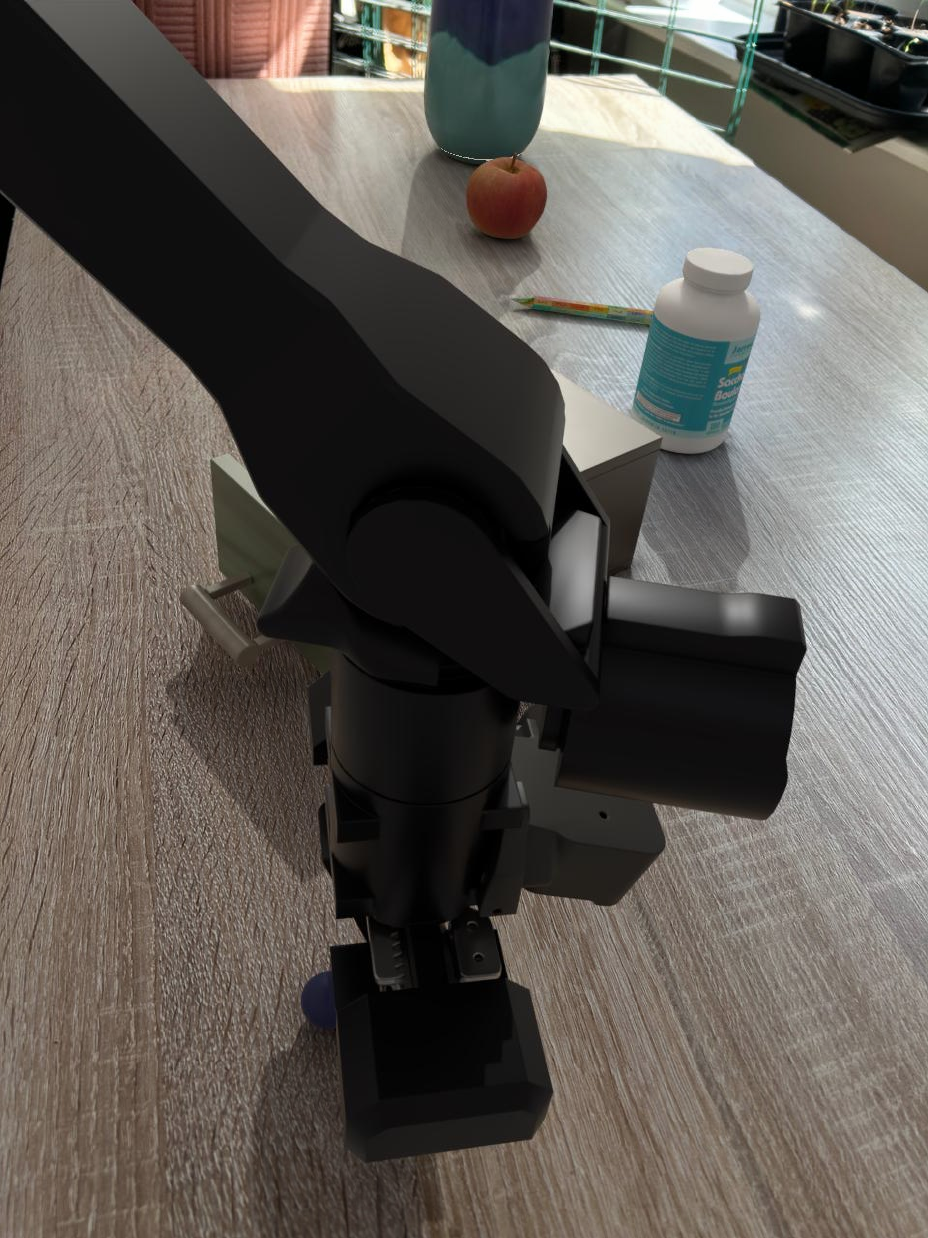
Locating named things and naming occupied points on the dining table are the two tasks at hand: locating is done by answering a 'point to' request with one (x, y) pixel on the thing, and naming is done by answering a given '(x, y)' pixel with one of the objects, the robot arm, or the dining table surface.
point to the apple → (506, 197)
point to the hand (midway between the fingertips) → (399, 992)
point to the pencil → (586, 309)
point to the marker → (319, 1001)
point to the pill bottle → (697, 351)
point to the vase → (486, 75)
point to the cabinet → (611, 464)
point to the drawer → (243, 565)
